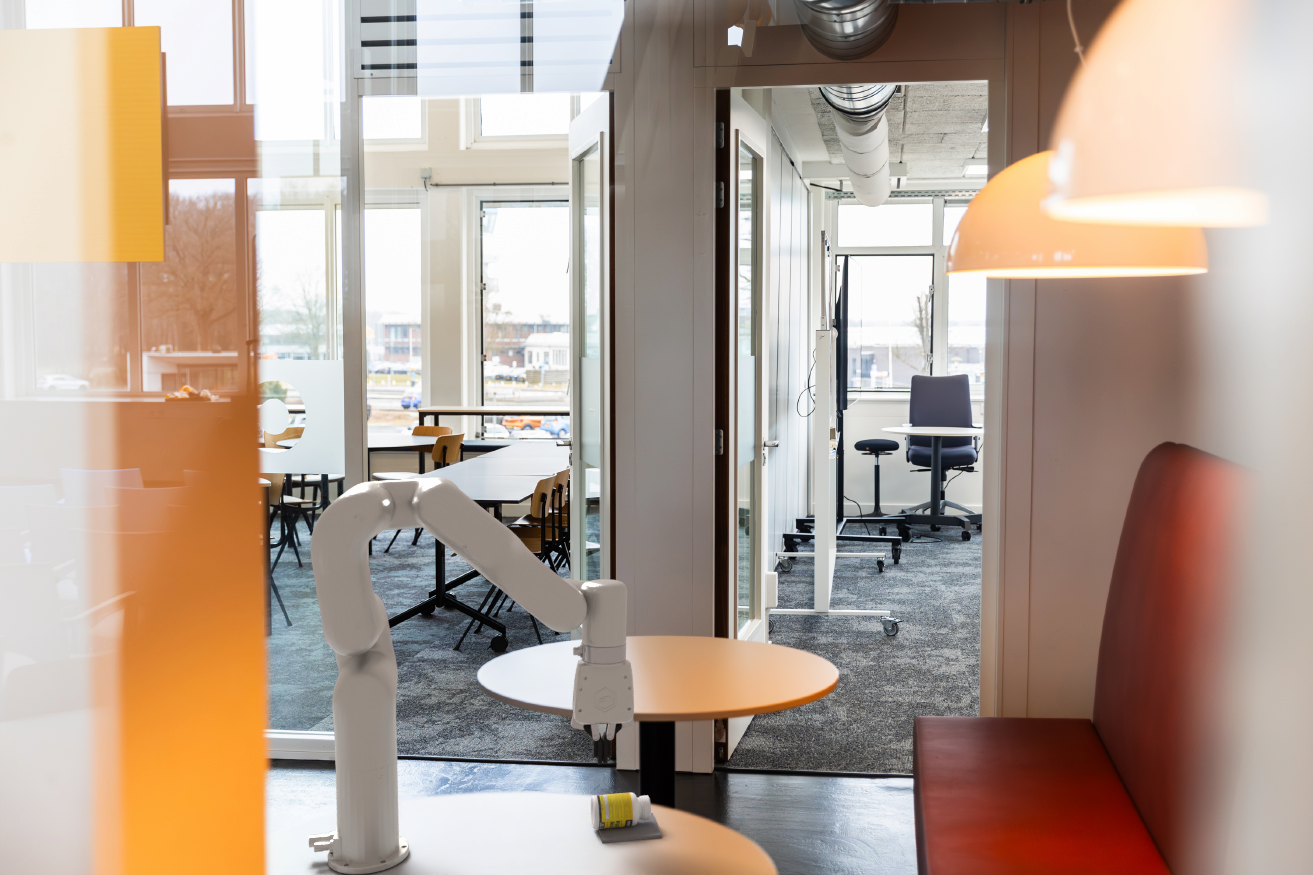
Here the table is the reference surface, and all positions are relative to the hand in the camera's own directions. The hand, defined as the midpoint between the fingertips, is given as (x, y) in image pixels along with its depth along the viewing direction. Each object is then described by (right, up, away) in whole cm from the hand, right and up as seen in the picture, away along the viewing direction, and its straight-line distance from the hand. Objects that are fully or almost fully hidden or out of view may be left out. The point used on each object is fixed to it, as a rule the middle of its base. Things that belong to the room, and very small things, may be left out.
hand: (601, 760), depth 163 cm
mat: (+4, -12, +1) cm, 13 cm away
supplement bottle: (-2, -9, 0) cm, 9 cm away
